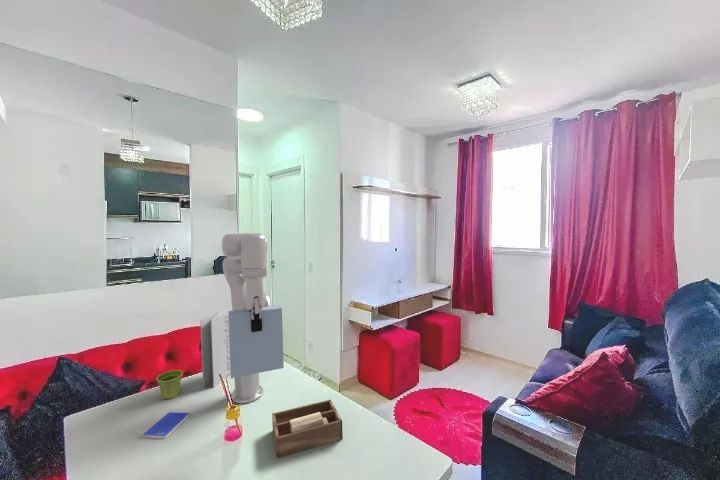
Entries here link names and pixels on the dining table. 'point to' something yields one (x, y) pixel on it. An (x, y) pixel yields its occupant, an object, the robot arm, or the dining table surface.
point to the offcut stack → (307, 422)
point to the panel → (255, 342)
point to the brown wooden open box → (308, 437)
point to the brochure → (215, 348)
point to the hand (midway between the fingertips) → (256, 328)
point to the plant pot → (170, 383)
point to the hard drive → (166, 425)
